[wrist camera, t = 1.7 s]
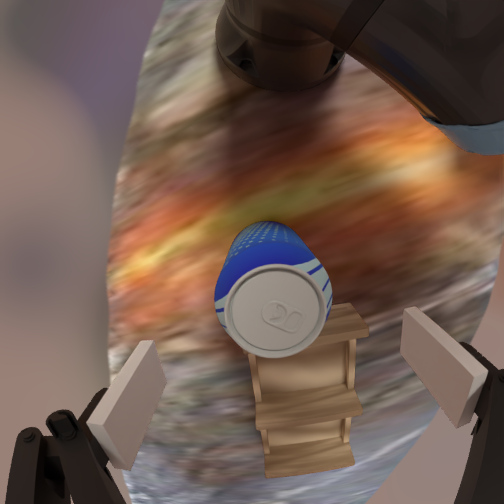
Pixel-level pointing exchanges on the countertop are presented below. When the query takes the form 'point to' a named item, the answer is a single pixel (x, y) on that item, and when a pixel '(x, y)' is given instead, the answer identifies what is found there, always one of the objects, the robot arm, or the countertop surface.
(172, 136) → the countertop surface
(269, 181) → the countertop surface
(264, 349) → the beer can
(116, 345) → the countertop surface
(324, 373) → the rack
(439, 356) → the robot arm
